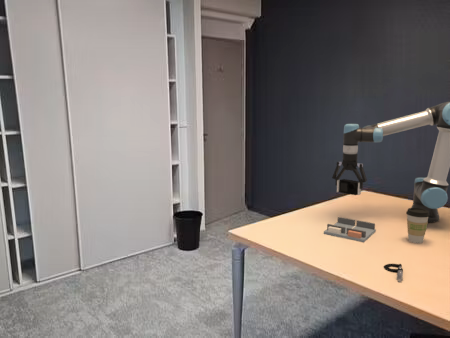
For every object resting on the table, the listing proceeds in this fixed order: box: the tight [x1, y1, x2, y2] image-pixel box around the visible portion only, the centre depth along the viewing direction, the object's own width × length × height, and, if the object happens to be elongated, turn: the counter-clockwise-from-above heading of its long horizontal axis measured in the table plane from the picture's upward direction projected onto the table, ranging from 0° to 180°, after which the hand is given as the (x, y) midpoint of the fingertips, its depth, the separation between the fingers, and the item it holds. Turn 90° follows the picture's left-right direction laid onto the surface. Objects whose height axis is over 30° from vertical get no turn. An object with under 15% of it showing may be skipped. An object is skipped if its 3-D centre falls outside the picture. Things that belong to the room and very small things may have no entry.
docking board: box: [323, 216, 377, 243], centre depth 193 cm, size 20×18×4 cm
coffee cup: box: [406, 207, 430, 244], centre depth 180 cm, size 10×10×15 cm
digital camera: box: [338, 178, 359, 196], centre depth 210 cm, size 10×5×7 cm, turn 40°
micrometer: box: [383, 263, 404, 283], centre depth 149 cm, size 15×7×2 cm, turn 155°
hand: (348, 193), depth 210 cm, fingers closed on digital camera, 11 cm apart
